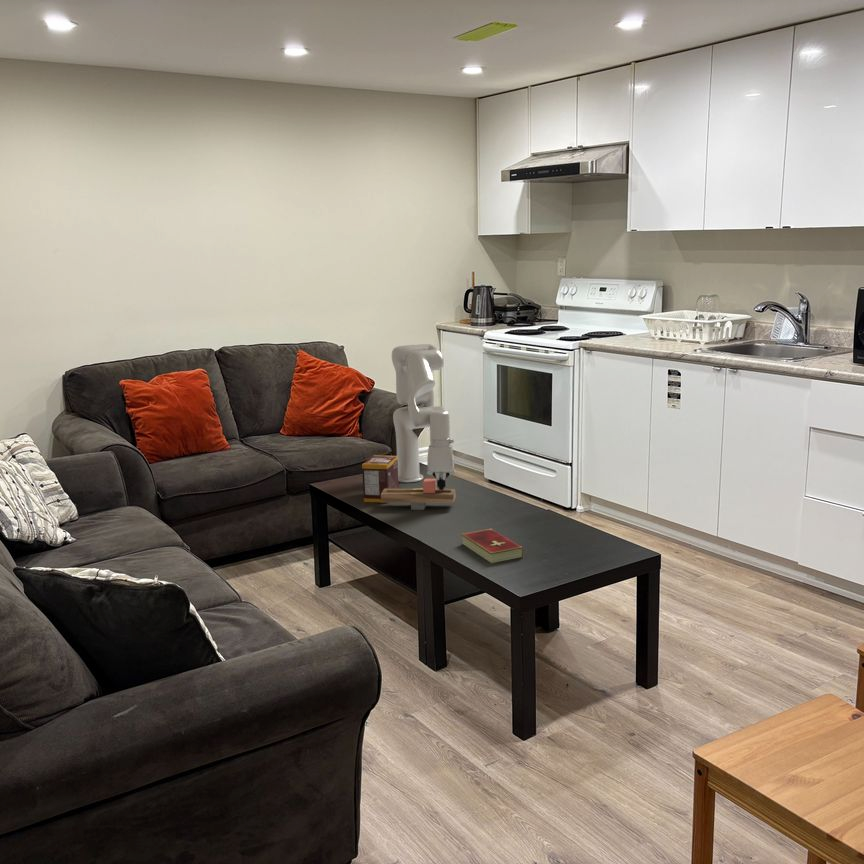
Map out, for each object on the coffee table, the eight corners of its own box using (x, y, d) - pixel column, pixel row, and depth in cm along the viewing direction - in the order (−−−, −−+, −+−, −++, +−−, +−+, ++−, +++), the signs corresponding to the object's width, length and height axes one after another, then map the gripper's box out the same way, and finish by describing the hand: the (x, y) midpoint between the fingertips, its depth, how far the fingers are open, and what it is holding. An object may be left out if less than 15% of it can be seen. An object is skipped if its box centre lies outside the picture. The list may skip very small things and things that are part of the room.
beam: (385, 503, 337) (384, 487, 336) (455, 504, 334) (455, 488, 332) (381, 509, 330) (380, 493, 328) (453, 510, 326) (453, 494, 325)
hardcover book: (492, 539, 294) (492, 527, 294) (523, 558, 276) (523, 546, 275) (461, 545, 290) (461, 533, 289) (490, 565, 271) (490, 552, 270)
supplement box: (399, 492, 352) (397, 455, 349) (388, 503, 338) (386, 464, 335) (375, 491, 355) (373, 454, 352) (363, 502, 340) (361, 464, 337)
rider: (425, 493, 333) (424, 478, 332) (436, 493, 333) (436, 478, 331) (423, 497, 327) (422, 482, 326) (434, 497, 327) (434, 483, 326)
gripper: (460, 440, 328) (461, 486, 332) (421, 440, 330) (423, 486, 334) (458, 444, 321) (460, 492, 324) (419, 445, 322) (421, 491, 326)
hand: (441, 489), depth 329 cm, fingers closed
